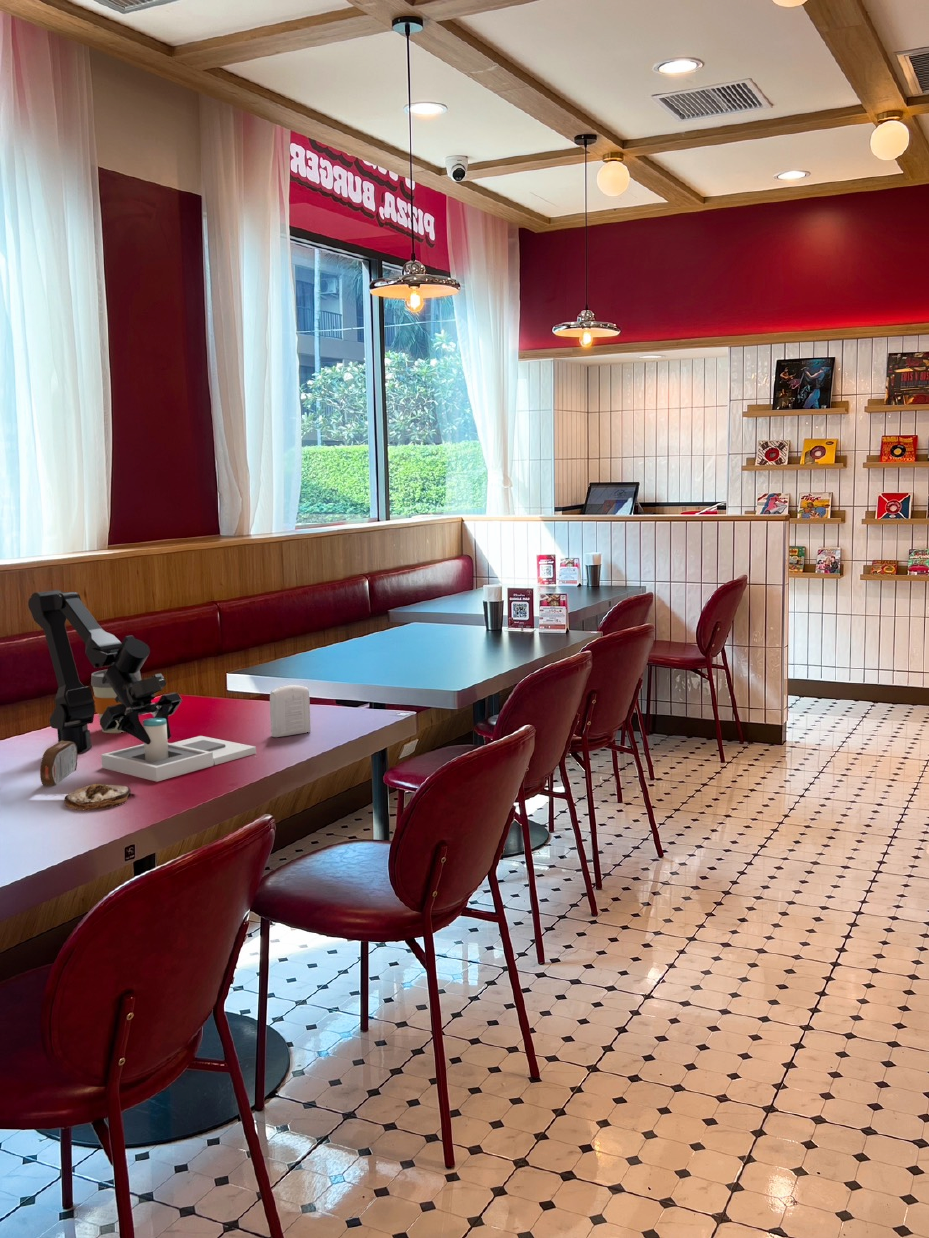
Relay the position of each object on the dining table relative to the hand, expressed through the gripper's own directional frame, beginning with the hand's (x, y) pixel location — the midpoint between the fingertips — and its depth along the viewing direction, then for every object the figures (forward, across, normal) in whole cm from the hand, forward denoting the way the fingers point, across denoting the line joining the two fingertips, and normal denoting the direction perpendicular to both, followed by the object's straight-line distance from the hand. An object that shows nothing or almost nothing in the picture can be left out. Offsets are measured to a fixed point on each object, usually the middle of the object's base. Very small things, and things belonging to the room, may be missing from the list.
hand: (159, 740), depth 245 cm
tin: (-3, -17, +14) cm, 22 cm away
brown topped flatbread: (+11, -21, 0) cm, 24 cm away
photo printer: (+4, +40, +6) cm, 41 cm away
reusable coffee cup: (-26, +20, +37) cm, 49 cm away
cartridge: (+3, 0, +5) cm, 6 cm away
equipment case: (+4, +6, +6) cm, 10 cm away
